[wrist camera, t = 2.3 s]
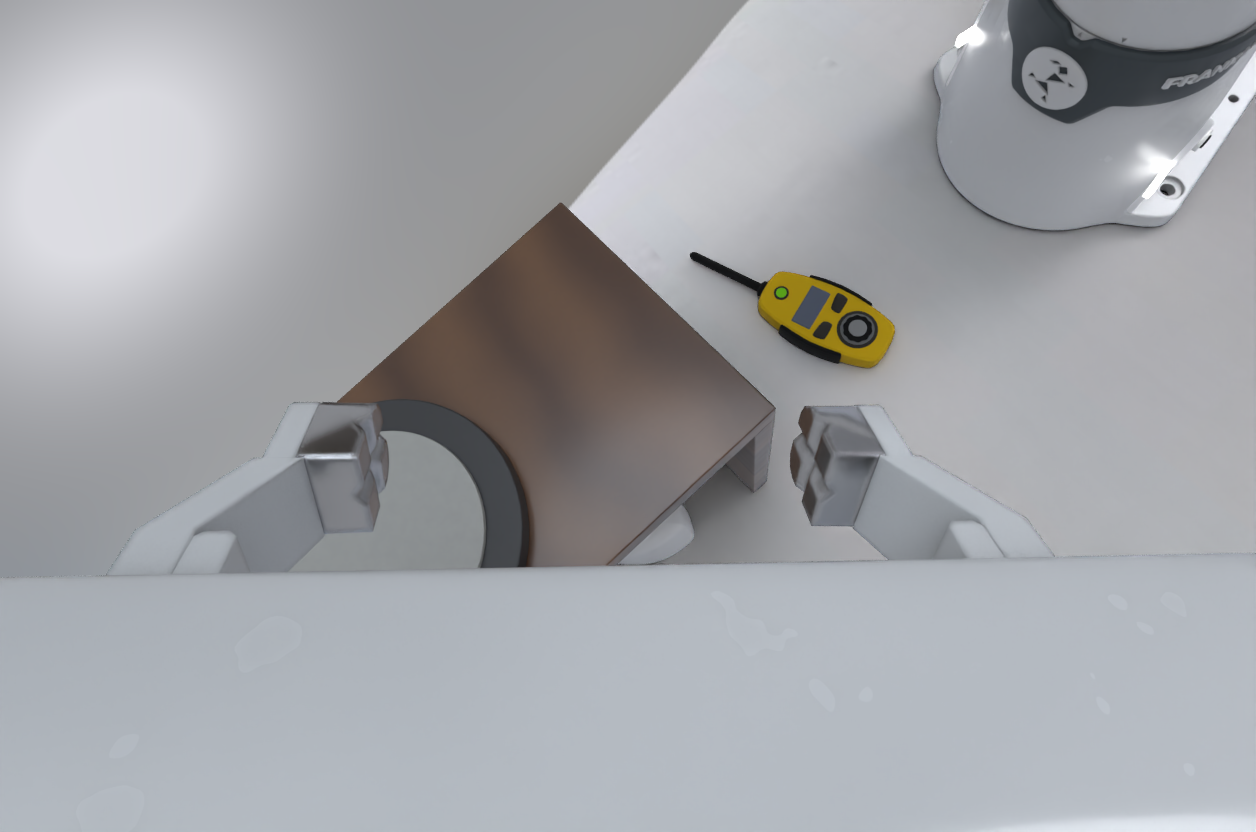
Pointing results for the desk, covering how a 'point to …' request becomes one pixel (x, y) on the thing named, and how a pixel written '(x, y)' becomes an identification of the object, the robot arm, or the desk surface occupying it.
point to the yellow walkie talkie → (818, 315)
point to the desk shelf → (583, 392)
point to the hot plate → (435, 500)
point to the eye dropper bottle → (663, 540)
